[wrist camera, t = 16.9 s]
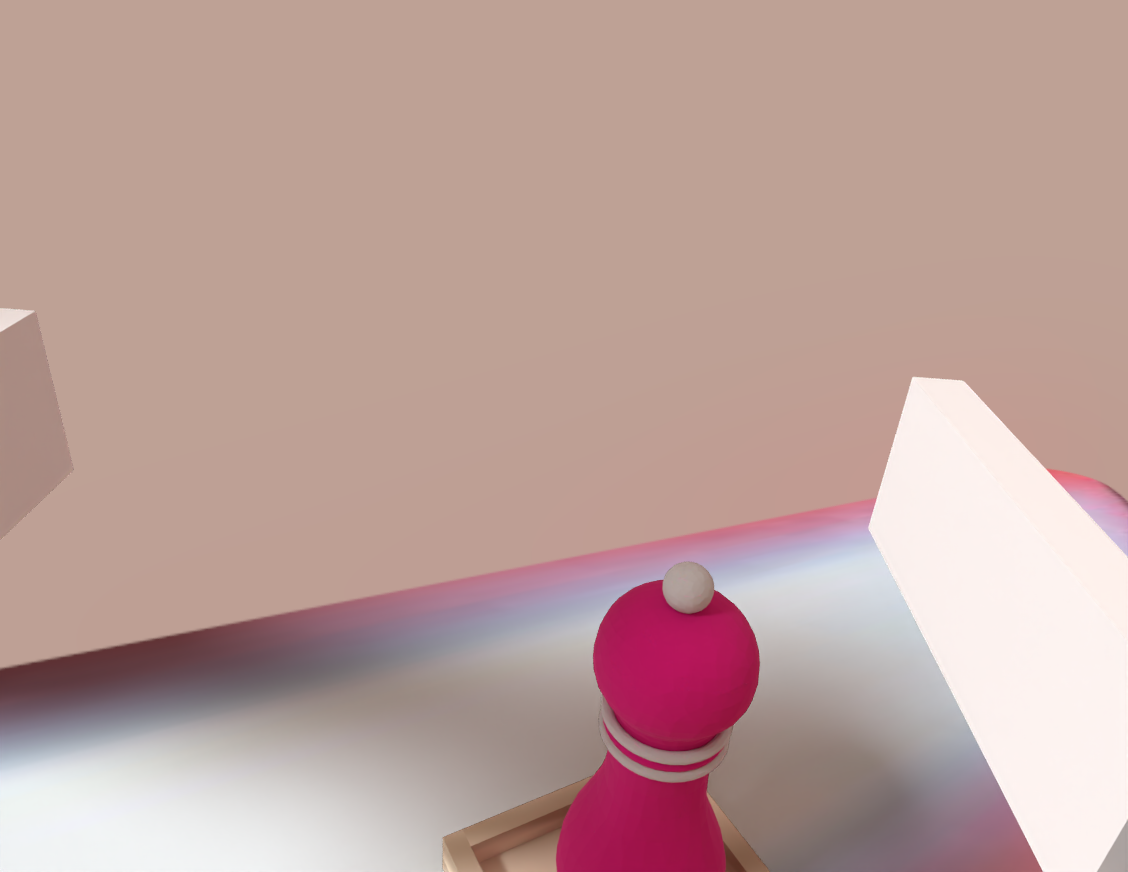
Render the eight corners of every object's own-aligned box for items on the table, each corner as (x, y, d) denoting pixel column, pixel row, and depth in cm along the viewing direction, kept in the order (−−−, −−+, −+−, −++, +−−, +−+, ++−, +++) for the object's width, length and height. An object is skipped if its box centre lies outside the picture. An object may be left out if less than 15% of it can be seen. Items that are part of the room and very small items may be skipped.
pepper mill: (686, 843, 42) (758, 507, 32) (729, 997, 36) (834, 636, 26) (542, 853, 41) (572, 509, 31) (560, 1013, 35) (605, 644, 25)
